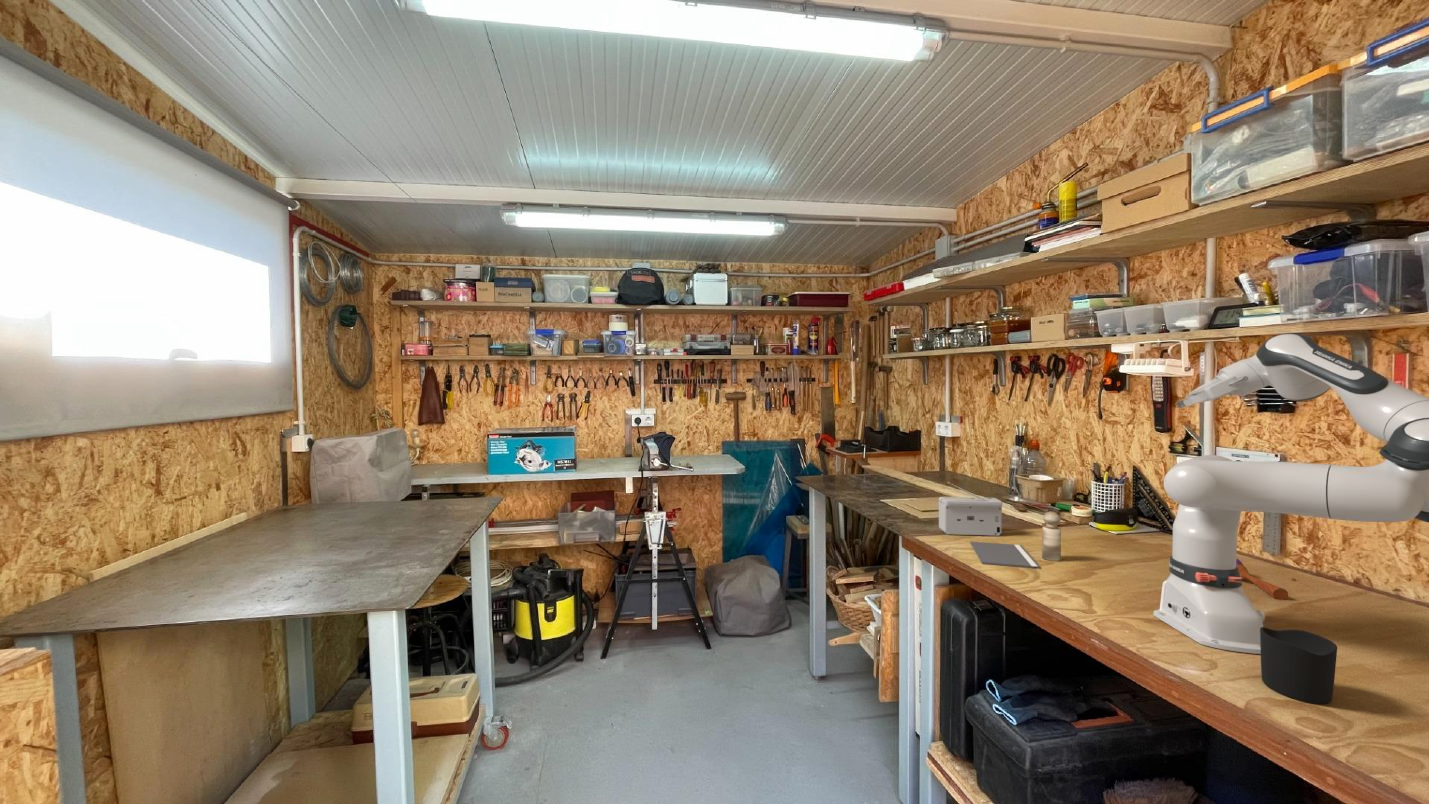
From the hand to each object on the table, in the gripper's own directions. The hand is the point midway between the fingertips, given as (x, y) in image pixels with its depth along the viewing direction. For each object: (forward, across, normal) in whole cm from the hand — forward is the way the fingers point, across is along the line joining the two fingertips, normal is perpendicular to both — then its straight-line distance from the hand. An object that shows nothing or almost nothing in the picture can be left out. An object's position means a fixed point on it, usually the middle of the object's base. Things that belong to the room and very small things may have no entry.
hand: (1180, 405), depth 149 cm
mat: (+64, +1, -20) cm, 67 cm away
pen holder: (+23, -56, -51) cm, 79 cm away
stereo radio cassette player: (+73, +23, -13) cm, 78 cm away
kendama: (+12, +7, -51) cm, 53 cm away
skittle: (+52, +5, -27) cm, 59 cm away
